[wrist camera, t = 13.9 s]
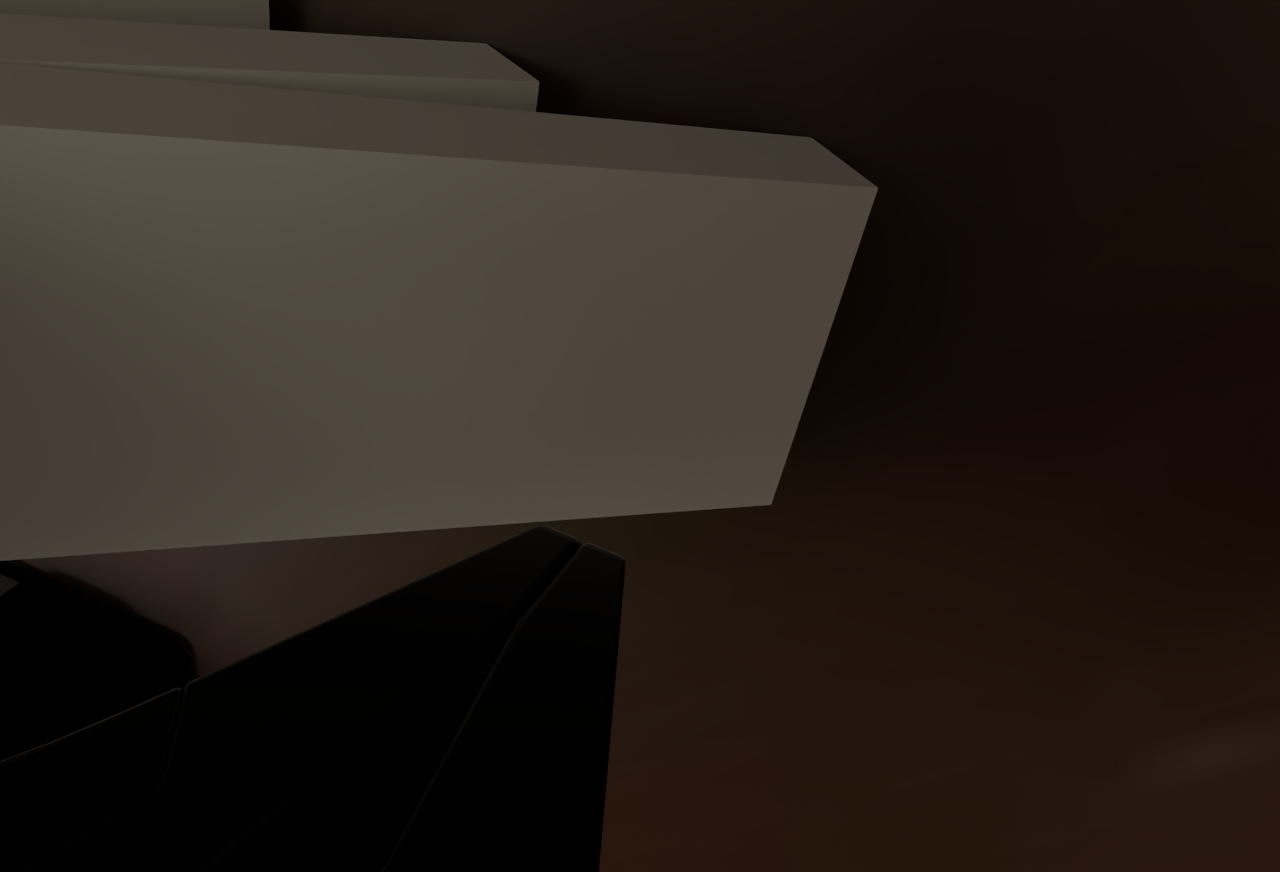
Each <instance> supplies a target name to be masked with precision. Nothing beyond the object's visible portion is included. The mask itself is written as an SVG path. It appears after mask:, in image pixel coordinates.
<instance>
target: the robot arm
mask: <svg viewBox="0 0 1280 872" xmlns="http://www.w3.org/2000/svg"><path fill="white" fill-rule="evenodd" d="M624 576H625V559H624V558H623V556H621V555H620V554H617V553H614V552H612V551H609V550H607V549H604V548H602V547H599V546H597V545H594V544H592V543H585V544H582V545H581V542H580V541H579V540H578V538H576V537H574V536H572V535H569V534H567V533H564V532H562V531H559V530H557V529H554V528H551V527H549V526H545V525H539V526H535V527H532V528H530V529H528V530H525V531H523V532H521V533H519V534H517V535H514V536H512V537H510V538H508V539H505V540H503V541H501V542H499V543H497V544H494V545H492V546H490V547H488V548H485V549H483V550H481V551H479V552H477V553H474V554H472V555H470V556H468V557H466V558H463V559H461V560H459V561H457V562H454V563H452V564H450V565H448V566H446V567H443V568H441V569H439V570H437V571H434V572H432V573H430V574H428V575H426V576H423V577H421V578H419V579H417V580H414V581H412V582H410V583H408V584H406V585H403V586H401V587H399V588H397V589H394V590H392V591H390V592H388V593H386V594H383V595H381V596H379V597H377V598H375V599H372V600H370V601H368V602H366V603H363V604H361V605H359V606H357V607H355V608H352V609H350V610H348V611H346V612H343V613H341V614H339V615H337V616H335V617H332V618H330V619H328V620H326V621H323V622H321V623H319V624H317V625H315V626H312V627H310V628H308V629H306V630H303V631H301V632H299V633H297V634H295V635H292V636H290V637H288V638H286V639H284V640H281V641H279V642H277V643H275V644H272V645H270V646H268V647H266V648H264V649H261V650H259V651H257V652H255V653H252V654H250V655H248V656H246V657H244V658H241V659H239V660H237V661H235V662H232V663H230V664H228V665H226V666H224V667H221V668H219V669H217V670H215V671H212V672H210V673H208V674H206V675H204V676H201V677H199V678H197V679H195V680H192V681H191V675H190V666H189V658H188V655H187V652H186V651H185V649H184V648H183V646H182V645H181V644H180V643H179V642H178V641H176V640H175V639H173V638H171V637H169V636H167V635H165V634H163V633H161V632H158V631H156V630H154V629H152V628H150V627H148V626H145V625H143V624H141V623H139V622H137V621H135V620H132V619H130V618H128V617H126V616H124V615H121V614H119V613H117V612H115V611H113V610H111V609H108V608H106V607H104V606H102V605H100V604H98V603H95V602H93V601H91V600H89V599H87V598H85V597H82V596H80V595H78V594H76V593H74V592H71V591H69V590H67V589H65V588H63V587H61V586H58V585H56V584H54V583H52V582H50V581H48V580H45V579H43V578H41V577H39V576H37V575H35V574H32V573H30V572H28V571H26V570H24V569H21V568H19V567H17V566H15V565H13V564H11V563H8V562H6V561H0V872H599V864H600V853H601V841H602V830H603V818H604V807H605V795H606V784H607V772H608V761H609V749H610V738H611V726H612V715H613V703H614V692H615V680H616V668H617V657H618V645H619V634H620V622H621V611H622V599H623V588H624Z"/></svg>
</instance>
